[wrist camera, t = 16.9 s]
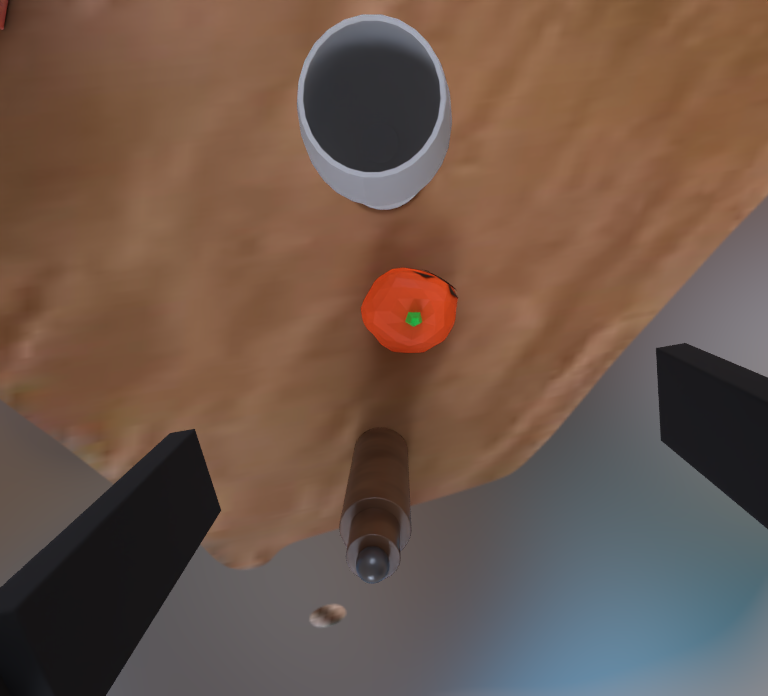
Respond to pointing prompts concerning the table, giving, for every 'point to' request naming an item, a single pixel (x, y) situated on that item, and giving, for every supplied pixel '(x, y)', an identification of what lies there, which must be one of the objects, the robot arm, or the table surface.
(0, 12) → the cracker box
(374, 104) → the wineglass
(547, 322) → the table surface
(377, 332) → the pumpkin
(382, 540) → the pepper mill
